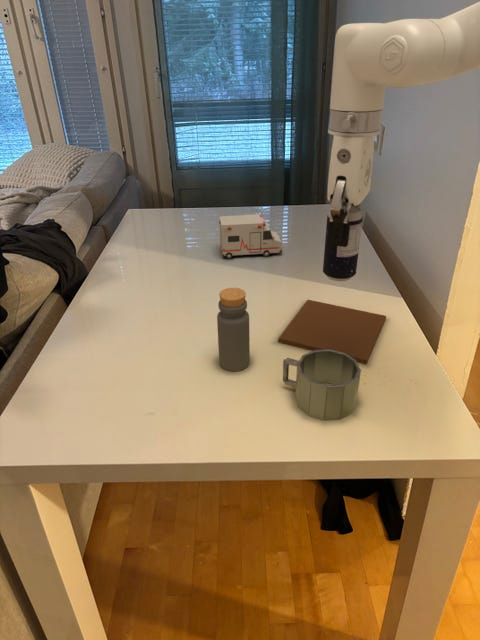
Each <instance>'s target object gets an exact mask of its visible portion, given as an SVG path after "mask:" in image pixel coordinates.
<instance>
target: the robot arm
mask: <svg viewBox="0 0 480 640" xmlns="http://www.w3.org/2000/svg"><path fill="white" fill-rule="evenodd" d="M334 38H335V39H334V46H333V61H332V62H333V63H332V72H331V73H332V75H331V85H330V87H331V89H330V102H329V115H328V127H327V133H328V134H329V135H332V136H333V137H332V144H331V149H330V151H331V153H330V160H329V169H328V178H327V191H326V193H327V194H326V195H327V196H326V197H327V201H328V202H329V203H330V208H331V214H330V222H329V234H328V244H329V245H334V246H341V247H347V245H348V240H349V231H350V222H348V221H349V215H350V210H351V205H353V206H357V207H359V208H360V209H361V203H362V202H363V201H364V199H366V197H368V194H369V193H370V191H371V187H372V186H371V185H372V176H373V166H374V165H373V164H374V153H375V136H378V135H380V133H381V127H382V118H383V111H384V110H383V109H384V103H385V96H386V88H387V87H388V88H393V89H406V88H412V87H417V86H422V85H429V84H436V83H439V82H443V81H446V80H450V79H451V78H454V77H457V76H461V75H463V74H466V73H468V72H471V71H474V70H477V69H479V68H480V1H478V2H475V3H473V4H471V5H469V6H467V7H465V8H462V9H461V10H458V11H456V12H453V13H451V14H449V15H446V16H444V17H442V18H404V19H398V20H392V21H389V22H384V23H382V22H356V23H355V22H354V23H346V24H344V25H341V26H340V27H339V28H338V29H337V31H336V34H335V37H334ZM342 206H344V207H346V210H345V211H344V209H341V208H342Z"/></svg>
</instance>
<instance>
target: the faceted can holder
mask: <svg viewBox="0 0 480 640" xmlns="http://www.w3.org/2000/svg"><path fill="white" fill-rule="evenodd" d="M358 363H359V362H357V361H356V360H355V359H353V358H352V357H350V356H349V355H347V354H346V353H343V352H339V351H335V350H331V349H330V350H329V349H325V350H313V351H312V350H310V351H309V352H306V353H305V354H303V355H302V356H301V357H300V358H299V360H298V359H294V358H290V357H286V358H285V359H283V362H282V382H283V383H284V385H286V386H290V387H293V388H295V393H294V396H295V400H296V404H297V407H298V408H299V409H300V410H301V411H302V412H303V413H305V414H306V415H307V416H308V417H313V418H315V419H319V420H322V421H335V420H336V421H337V420H342V419H344V418H345V417H348V416H350V415H351V414H352V413H353V411H354V410H355V407H356V404H357V400H358V394H359V386H360V380H361V373H362V369H361V367H360V365H359V364H358ZM290 366H292V367H296V377H295V378H296V379H295V380H293V379H290V378H289V376H290V375H289V373H290Z"/></svg>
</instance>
